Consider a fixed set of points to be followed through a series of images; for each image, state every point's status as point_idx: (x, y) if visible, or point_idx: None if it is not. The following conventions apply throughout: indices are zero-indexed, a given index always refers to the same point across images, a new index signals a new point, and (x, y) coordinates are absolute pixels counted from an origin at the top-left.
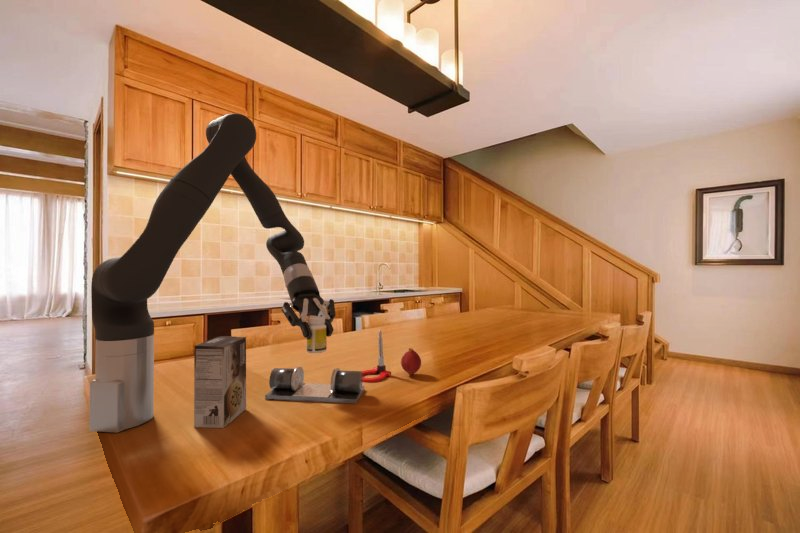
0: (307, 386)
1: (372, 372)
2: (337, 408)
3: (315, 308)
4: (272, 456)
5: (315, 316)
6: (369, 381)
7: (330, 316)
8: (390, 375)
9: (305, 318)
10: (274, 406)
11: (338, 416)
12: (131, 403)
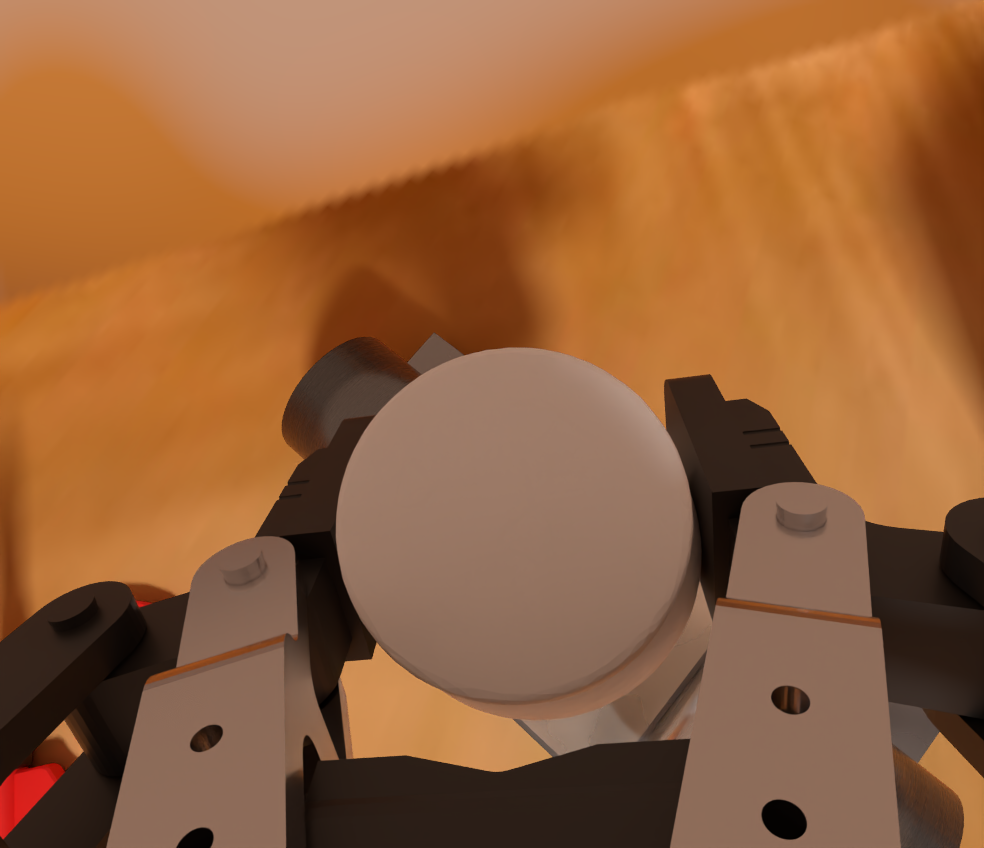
0: (615, 702)
1: (60, 775)
2: (548, 335)
3: (374, 835)
4: (938, 52)
5: (474, 672)
6: None
7: (149, 638)
8: None
9: (766, 537)
10: None
11: (581, 248)
12: None
